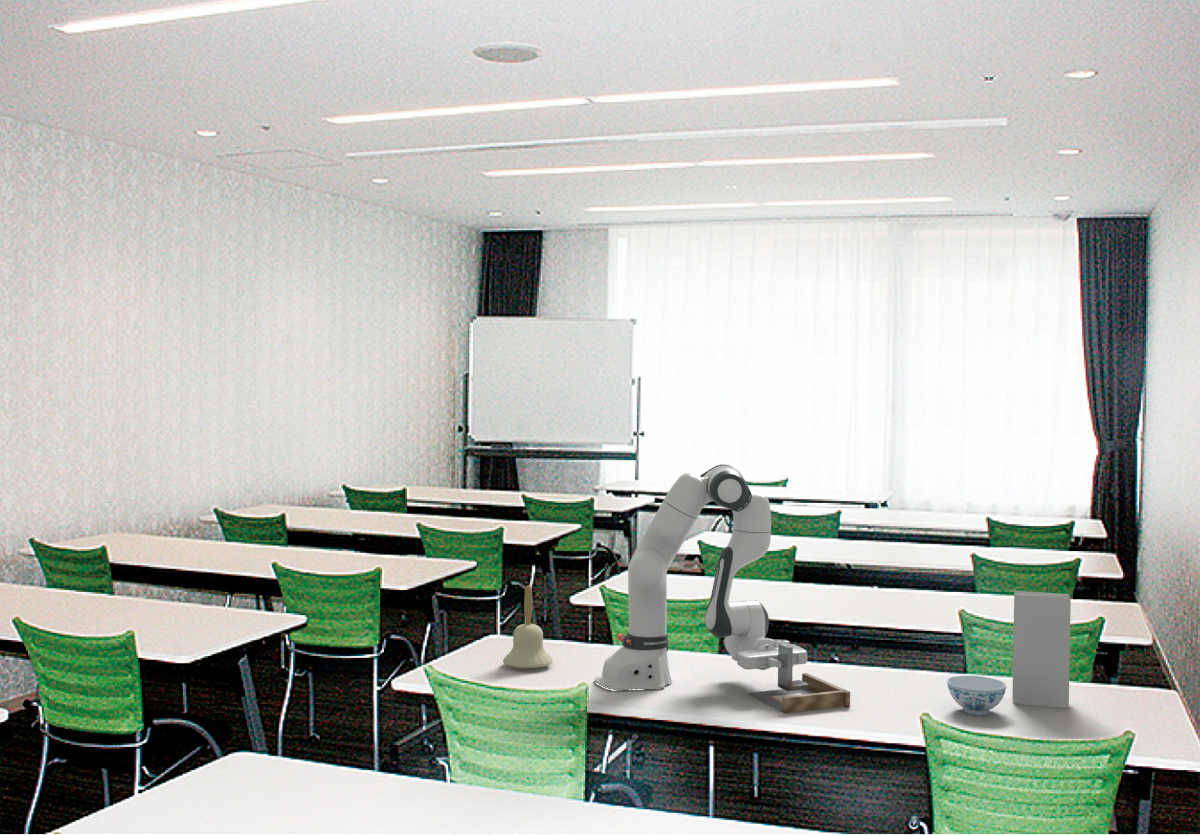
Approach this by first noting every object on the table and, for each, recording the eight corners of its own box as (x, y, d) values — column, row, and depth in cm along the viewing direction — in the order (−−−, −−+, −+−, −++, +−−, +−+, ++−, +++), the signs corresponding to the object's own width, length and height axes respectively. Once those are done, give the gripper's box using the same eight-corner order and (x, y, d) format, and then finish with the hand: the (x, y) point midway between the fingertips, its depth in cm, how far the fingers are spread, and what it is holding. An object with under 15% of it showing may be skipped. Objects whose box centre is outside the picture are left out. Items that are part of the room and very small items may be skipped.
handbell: (492, 666, 342) (493, 584, 342) (531, 658, 352) (531, 579, 352) (524, 675, 331) (524, 591, 330) (563, 667, 341) (563, 586, 341)
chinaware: (963, 700, 308) (963, 672, 308) (1015, 711, 297) (1016, 683, 297) (936, 710, 297) (936, 682, 297) (989, 723, 287) (989, 693, 287)
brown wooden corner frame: (786, 714, 293) (786, 699, 293) (746, 693, 313) (746, 679, 313) (850, 706, 301) (850, 691, 301) (806, 686, 321) (806, 673, 321)
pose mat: (781, 711, 296) (781, 709, 296) (747, 694, 312) (747, 692, 312) (839, 704, 302) (839, 703, 302) (803, 688, 319) (803, 686, 319)
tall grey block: (1067, 703, 306) (1069, 594, 305) (1069, 708, 301) (1071, 597, 300) (1012, 698, 310) (1014, 590, 310) (1012, 703, 305) (1014, 594, 305)
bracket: (787, 691, 304) (788, 647, 303) (777, 686, 308) (778, 643, 308) (809, 688, 306) (810, 645, 306) (799, 684, 311) (800, 641, 310)
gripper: (728, 645, 314) (753, 656, 301) (791, 639, 322) (818, 650, 309) (728, 667, 314) (753, 679, 301) (791, 661, 322) (817, 672, 309)
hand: (786, 664), depth 305 cm, fingers closed on bracket
